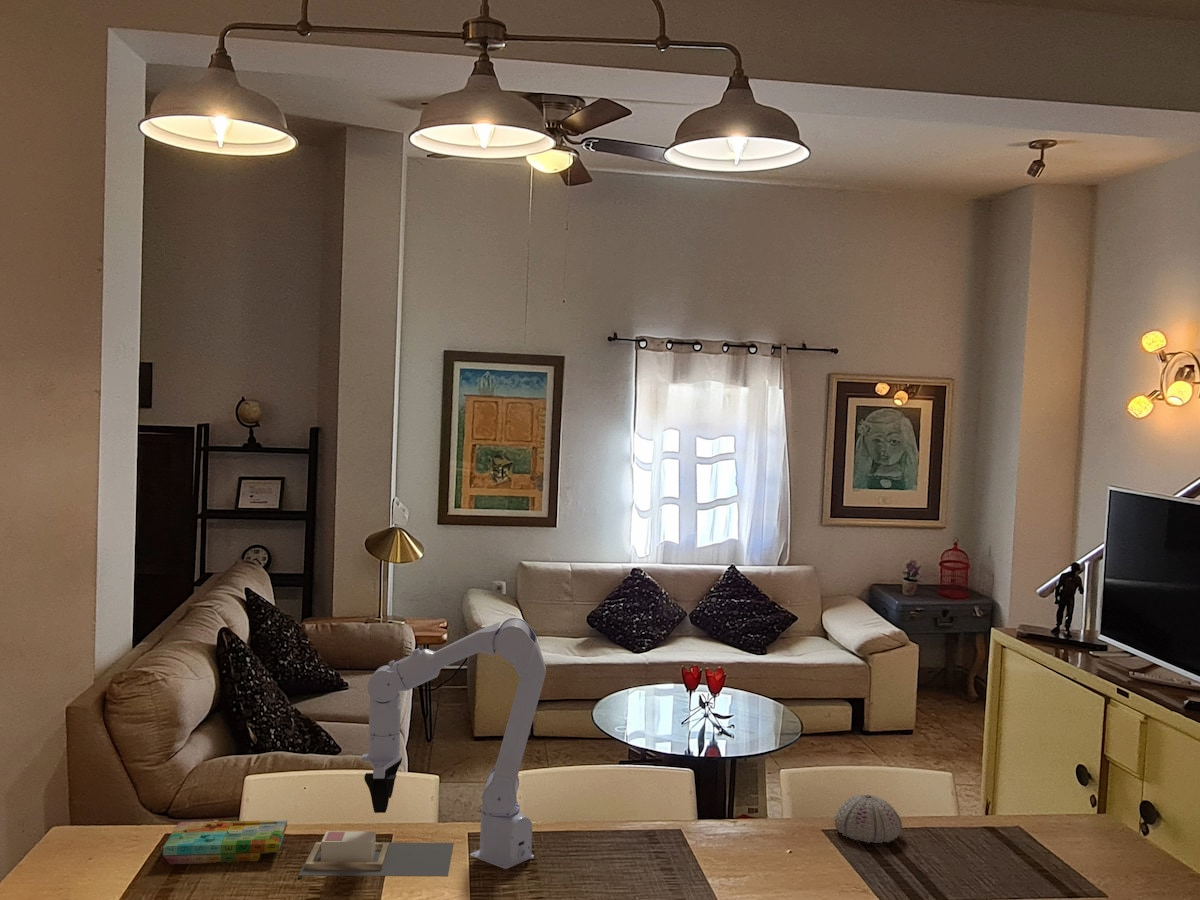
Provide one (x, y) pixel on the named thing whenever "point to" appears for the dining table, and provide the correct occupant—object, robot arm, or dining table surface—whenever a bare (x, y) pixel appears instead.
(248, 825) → the puzzle game
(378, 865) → the frame
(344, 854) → the card box
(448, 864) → the mat
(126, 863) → the dining table surface
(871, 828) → the sea urchin shell
